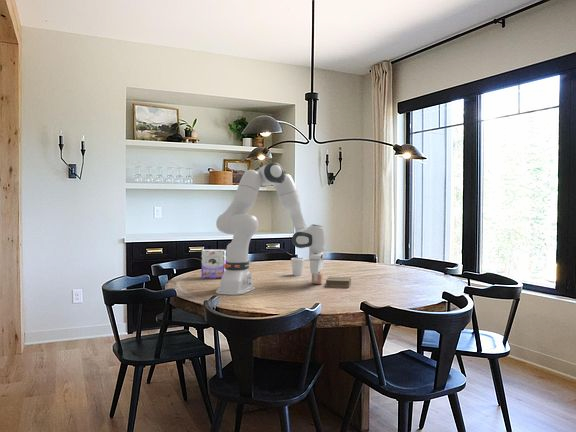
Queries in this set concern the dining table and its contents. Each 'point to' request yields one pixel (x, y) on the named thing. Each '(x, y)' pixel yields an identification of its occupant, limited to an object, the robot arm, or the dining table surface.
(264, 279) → the dining table surface
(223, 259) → the candy box
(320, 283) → the terracotta cube
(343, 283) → the walnut block
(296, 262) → the dixie cup
